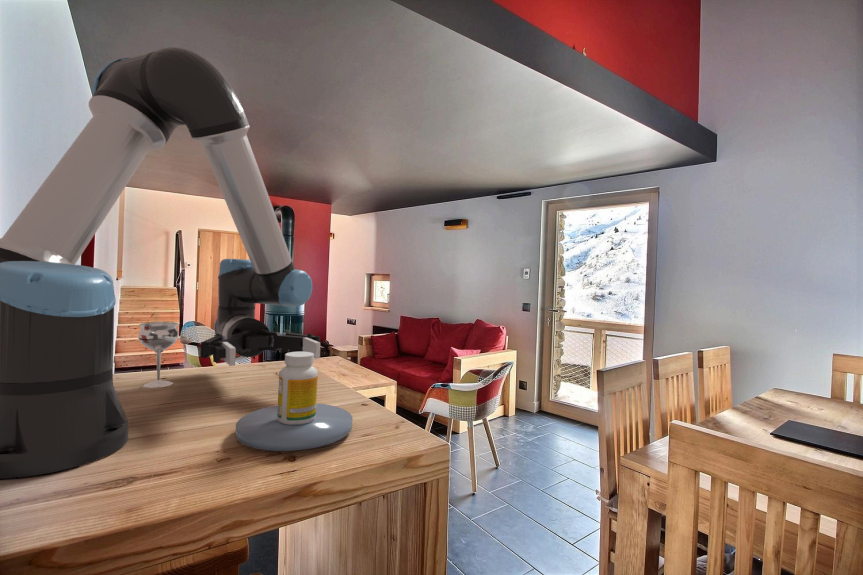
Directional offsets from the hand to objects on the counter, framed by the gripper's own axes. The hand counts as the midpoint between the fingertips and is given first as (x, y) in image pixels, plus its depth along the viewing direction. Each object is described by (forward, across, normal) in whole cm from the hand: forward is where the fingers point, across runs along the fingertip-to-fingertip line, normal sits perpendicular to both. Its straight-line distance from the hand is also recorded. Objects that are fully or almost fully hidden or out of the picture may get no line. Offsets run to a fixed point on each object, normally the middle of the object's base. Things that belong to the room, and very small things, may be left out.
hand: (277, 353), depth 70 cm
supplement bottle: (+10, 0, -8) cm, 13 cm away
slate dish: (+10, 0, -10) cm, 14 cm away
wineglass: (-29, +14, -10) cm, 34 cm away
